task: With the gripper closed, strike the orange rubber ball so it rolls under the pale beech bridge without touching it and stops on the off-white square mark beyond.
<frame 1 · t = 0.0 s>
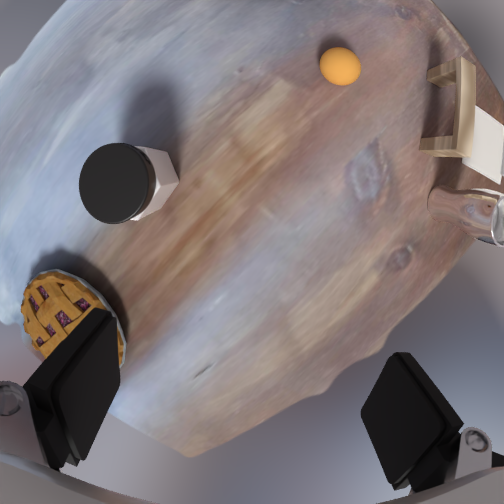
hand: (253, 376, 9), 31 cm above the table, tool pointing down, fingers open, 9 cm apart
jar: (148, 178, 37), on the table
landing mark: (485, 143, 36), on the table
ball: (340, 66, 31), on the table
beer glass: (440, 203, 39), on the table
pie: (76, 322, 43), on the table
bridge: (431, 111, 35), on the table
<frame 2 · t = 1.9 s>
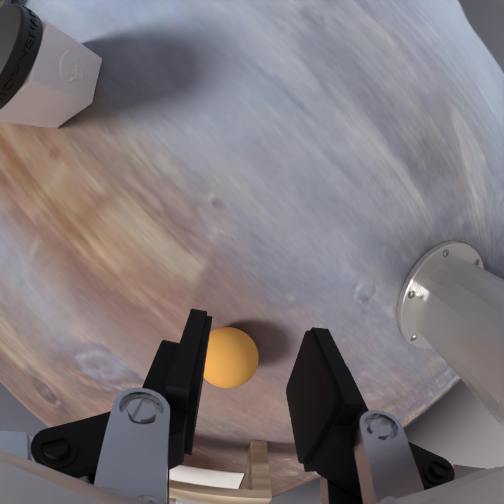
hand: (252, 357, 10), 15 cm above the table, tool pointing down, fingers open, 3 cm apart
jar: (66, 85, 20), on the table
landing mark: (201, 483, 35), on the table
ball: (227, 357, 24), on the table
stopper wall: (199, 497, 37), on the table
bridge: (209, 441, 31), on the table
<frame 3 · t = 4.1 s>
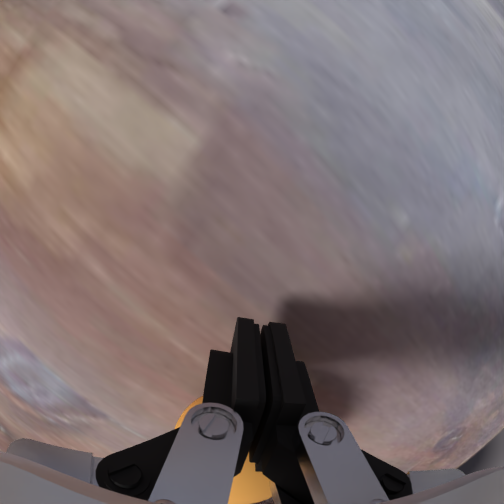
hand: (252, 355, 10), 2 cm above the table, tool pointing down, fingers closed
ball: (237, 447, 10), on the table
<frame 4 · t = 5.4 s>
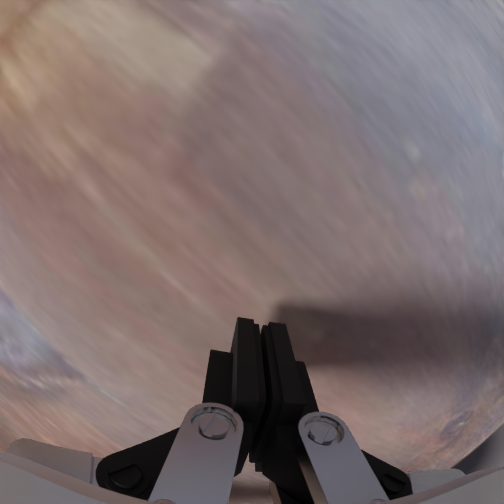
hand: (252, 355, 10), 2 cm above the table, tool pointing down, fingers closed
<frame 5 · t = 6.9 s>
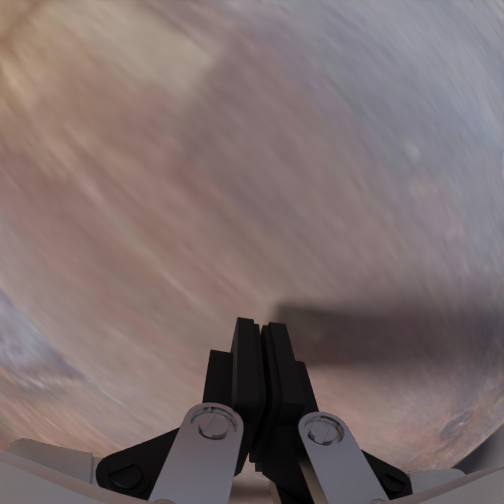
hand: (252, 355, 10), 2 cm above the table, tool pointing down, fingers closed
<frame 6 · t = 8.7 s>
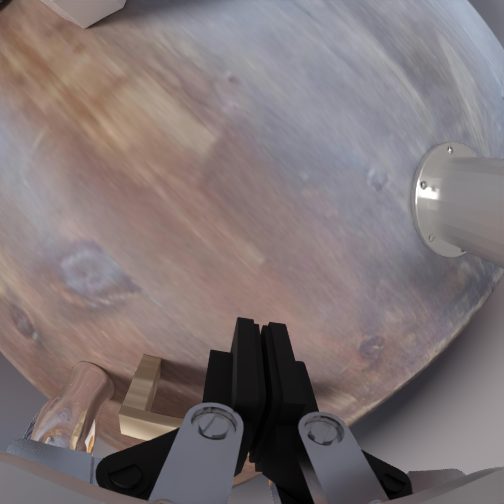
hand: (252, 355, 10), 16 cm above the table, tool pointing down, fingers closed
beer glass: (93, 379, 29), on the table
bridge: (207, 378, 29), on the table
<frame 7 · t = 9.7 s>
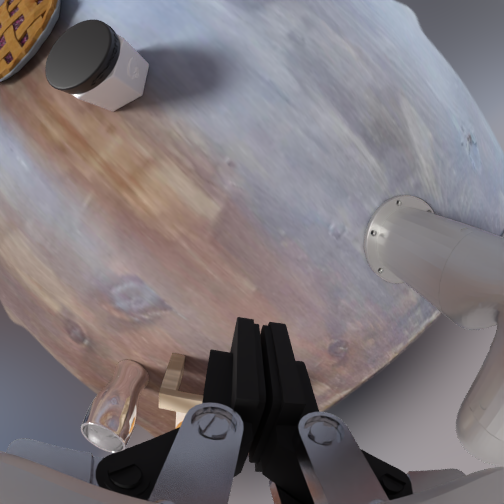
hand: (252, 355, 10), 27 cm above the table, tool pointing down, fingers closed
jar: (120, 81, 30), on the table
beer glass: (132, 372, 42), on the table
pie: (21, 33, 25), on the table
bridge: (218, 368, 42), on the table
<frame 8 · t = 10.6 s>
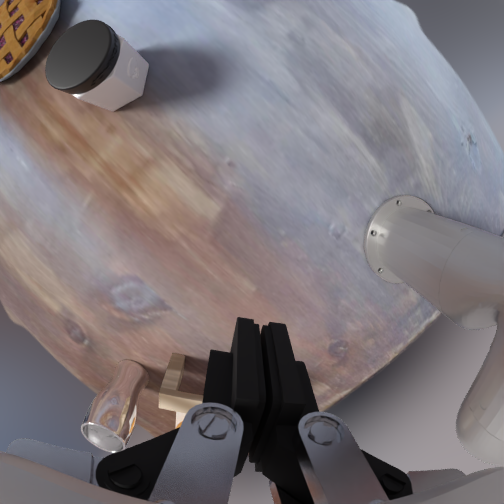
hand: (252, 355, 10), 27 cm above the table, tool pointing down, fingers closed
jar: (120, 81, 30), on the table
beer glass: (132, 372, 42), on the table
pie: (21, 33, 25), on the table
bridge: (218, 368, 42), on the table
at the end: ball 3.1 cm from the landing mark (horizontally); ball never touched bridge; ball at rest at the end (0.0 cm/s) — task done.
